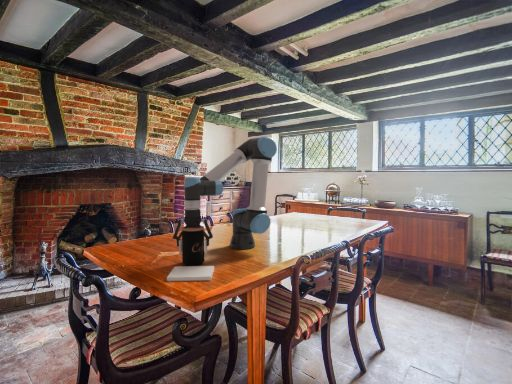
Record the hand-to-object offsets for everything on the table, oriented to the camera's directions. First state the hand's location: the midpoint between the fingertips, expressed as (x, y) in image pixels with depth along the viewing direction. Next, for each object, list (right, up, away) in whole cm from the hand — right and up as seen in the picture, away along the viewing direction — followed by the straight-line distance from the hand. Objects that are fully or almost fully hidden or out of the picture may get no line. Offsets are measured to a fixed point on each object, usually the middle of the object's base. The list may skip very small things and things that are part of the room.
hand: (193, 252), depth 142 cm
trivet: (+3, -6, -16) cm, 17 cm away
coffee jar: (0, -6, 0) cm, 6 cm away
